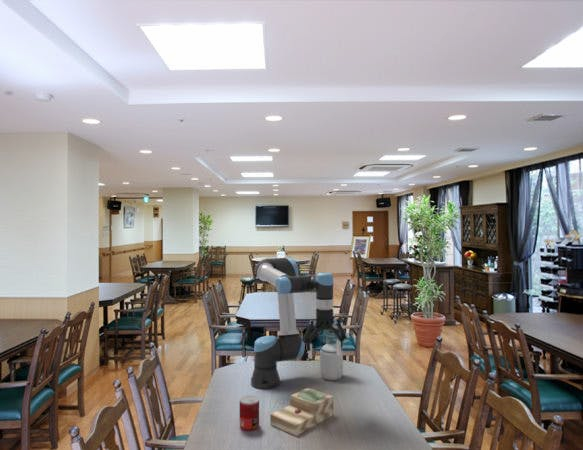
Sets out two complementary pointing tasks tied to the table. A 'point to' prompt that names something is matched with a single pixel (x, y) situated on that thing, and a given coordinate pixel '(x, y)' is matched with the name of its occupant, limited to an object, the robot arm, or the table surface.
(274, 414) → the stand
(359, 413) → the table surface
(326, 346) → the soap bottle
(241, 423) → the canned food
